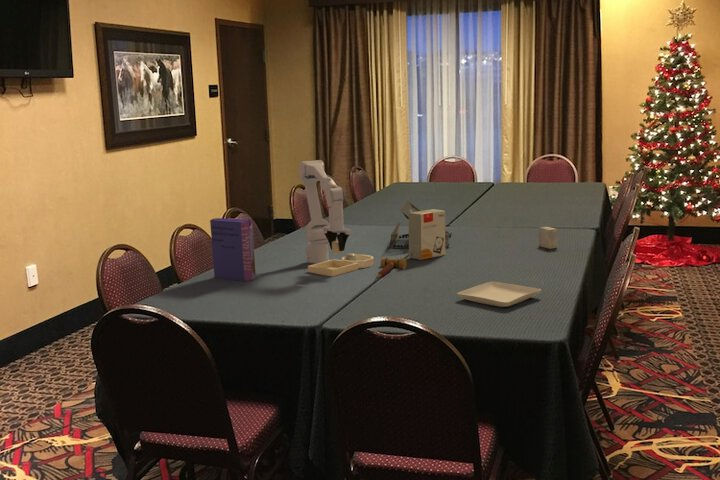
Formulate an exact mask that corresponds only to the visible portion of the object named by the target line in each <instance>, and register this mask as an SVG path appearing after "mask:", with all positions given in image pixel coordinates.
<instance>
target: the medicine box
mask: <svg viewBox="0 0 720 480" xmlns="http://www.w3.org/2000/svg"><path fill="white" fill-rule="evenodd" d="M538 247H541V248H545V249H550V250H551V249H553V250H554V249H557V248H558V229H557V228H553V227H550V226H542V227H539V228H538Z"/></svg>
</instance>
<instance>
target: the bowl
mask: <svg viewBox="0 0 720 480" xmlns="http://www.w3.org/2000/svg"><path fill="white" fill-rule="evenodd" d="M341 260H342V261H345V262H354V263H358V269H366V268H369V267H373V266H374V265H375V264H374V256H373V255H368V254H356V261H349V260H346V255H345V256H342V257H341Z"/></svg>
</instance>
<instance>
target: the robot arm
mask: <svg viewBox="0 0 720 480" xmlns="http://www.w3.org/2000/svg"><path fill="white" fill-rule="evenodd" d="M298 174H299V175H298V176H299V179H300V182H301V183H303V184H304V188H305V193H306V200H307V205H308V210H309V216H310V221H309V223H308V224H306V226H305V229H306V231H305V232H306V239H307V241H308V242H307V245H306V247H305V249H306V251H305V253H306V260H305V263H306V264H307V263H311V264H317V263H321V262H325V261H329V260H330V259H329V258H330V257H329V248H330V250H331V251H332V241H338V243H339V251H343V252H344V251H345V247H346V244H347V240H348V239H349V236H350V235H352V229H350V228H347V227H344V209H343V208H344V205H343V202H344V201H345V199H346V193H345V190H344V188H343V187H342V186H339V185H338V184H336V182H335V181H334V180H333V178H331V177H330V176H328V175H327V173H326V172H325V163H324V161H323V160H321V159H318V160H305V161H304V160H302V161H300V162H299V164H298ZM317 182H320V183H319V187H320V188H321V189H322V191H323V193H325V200H326V205H327V207H328V221H329V222H328V221H327V220H325V219H324V218H323V214H322V210H321V204H320V198H319V193H318V187H317Z"/></svg>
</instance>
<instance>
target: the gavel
mask: <svg viewBox="0 0 720 480" xmlns="http://www.w3.org/2000/svg"><path fill="white" fill-rule="evenodd" d="M407 262H408V261H407V259H406V257H405V258H403V257H402V258H388V257H381V259H380V268H382V269H381V270H379V272H378V273H377V276H376V277H377V278H378V279H379V278H383V277H385V276H387V274H388V273H389V272H391V271H392V269H393V268H399V270H405V269H406V268H407V266H408V263H407Z"/></svg>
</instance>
